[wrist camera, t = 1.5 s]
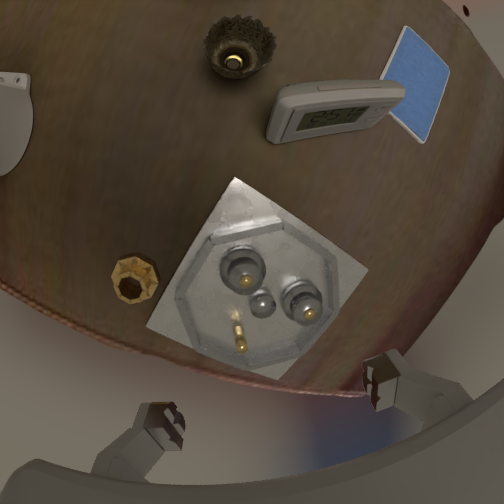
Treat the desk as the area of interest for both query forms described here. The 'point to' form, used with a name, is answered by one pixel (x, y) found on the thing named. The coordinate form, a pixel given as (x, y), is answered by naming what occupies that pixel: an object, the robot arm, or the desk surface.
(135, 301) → the flanged octagonal bushing
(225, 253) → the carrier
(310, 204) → the desk surface
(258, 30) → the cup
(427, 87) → the tablet computer
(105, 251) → the desk surface
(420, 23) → the desk surface
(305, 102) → the digital clock
